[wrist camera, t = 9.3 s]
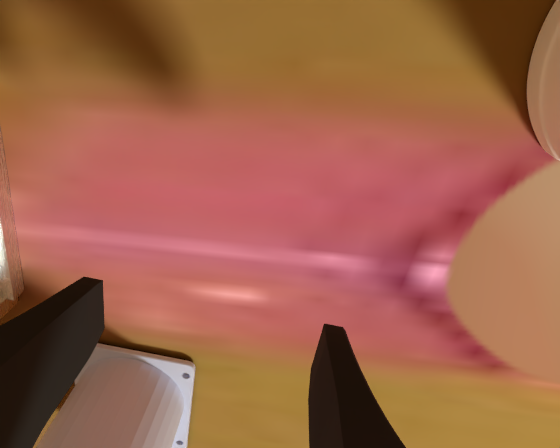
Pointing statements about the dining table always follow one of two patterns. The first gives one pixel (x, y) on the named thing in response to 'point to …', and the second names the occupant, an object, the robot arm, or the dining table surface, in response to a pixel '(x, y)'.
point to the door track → (8, 245)
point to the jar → (546, 84)
